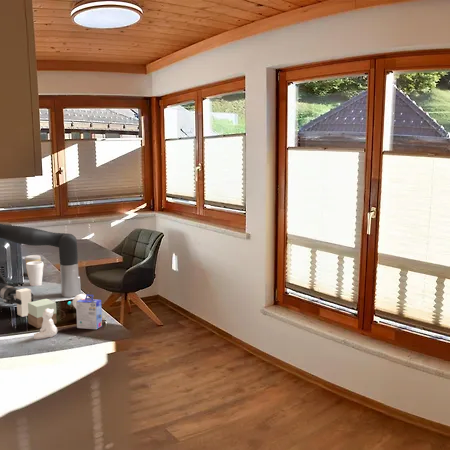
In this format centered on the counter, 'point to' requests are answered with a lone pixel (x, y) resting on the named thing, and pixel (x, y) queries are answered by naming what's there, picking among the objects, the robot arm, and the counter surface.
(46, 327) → the white creature statuette
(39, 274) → the foam cup
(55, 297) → the counter surface
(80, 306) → the ink cartridge box
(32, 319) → the tower base slab
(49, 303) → the tower top slab
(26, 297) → the cream block
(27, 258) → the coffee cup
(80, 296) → the perfume bottle
